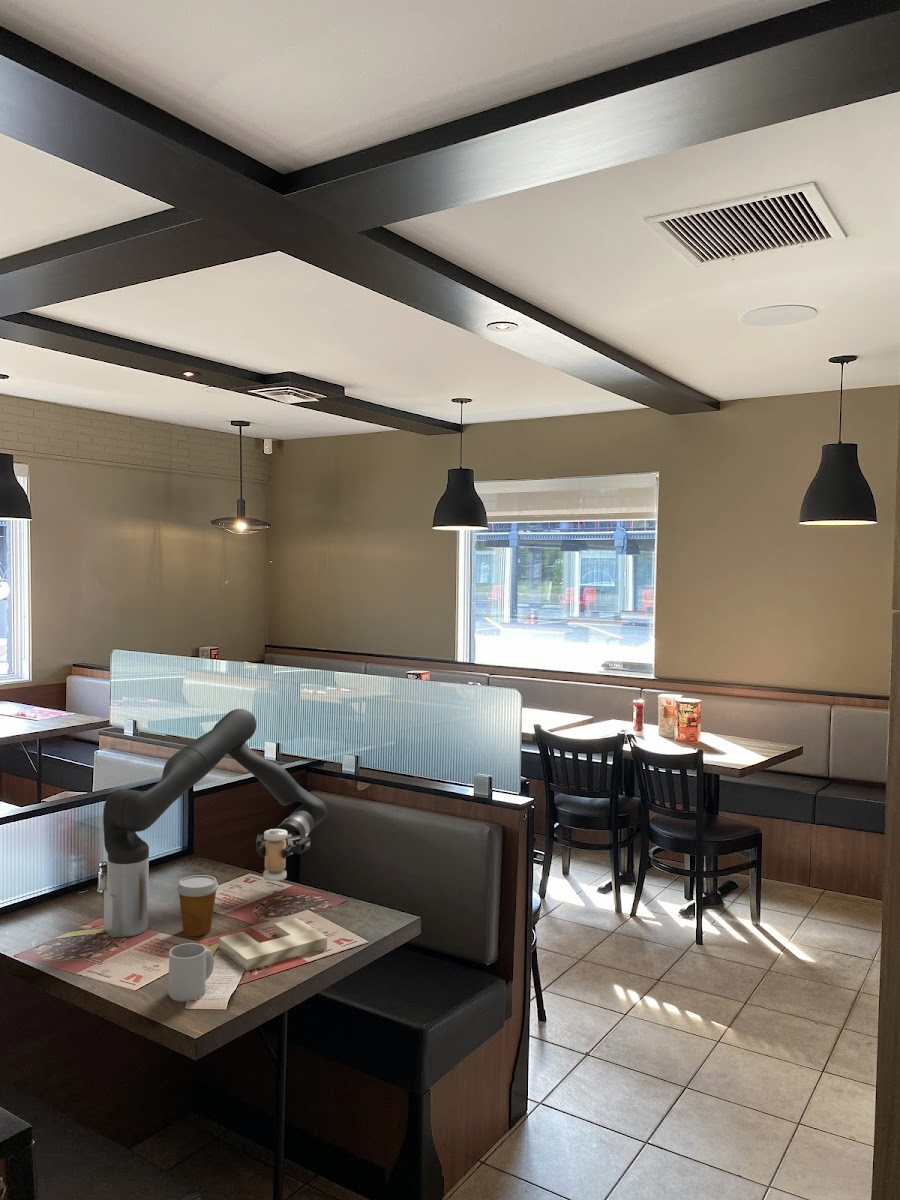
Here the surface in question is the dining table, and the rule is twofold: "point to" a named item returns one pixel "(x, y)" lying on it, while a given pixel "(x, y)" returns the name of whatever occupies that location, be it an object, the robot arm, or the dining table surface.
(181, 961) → the cup
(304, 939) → the notched board
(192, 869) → the dining table surface
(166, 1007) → the dining table surface
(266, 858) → the bobbin
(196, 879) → the disposable coffee cup
